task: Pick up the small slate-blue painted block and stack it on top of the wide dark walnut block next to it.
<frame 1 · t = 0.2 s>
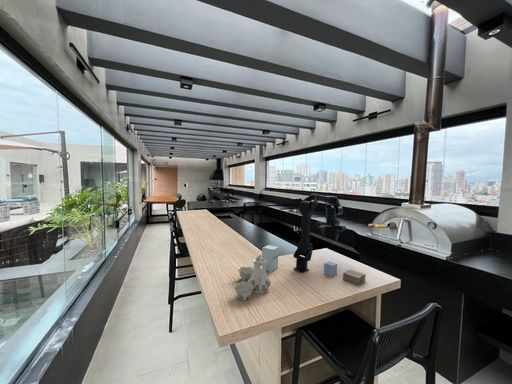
hand: (329, 238, 142), 14 cm above the bar counter, fingers open, 9 cm apart
grey lumpy piece: (252, 289, 101), on the bar counter
walnut block: (354, 280, 113), on the bar counter
slate block: (330, 273, 121), on the bar counter
supplement box: (269, 268, 125), on the bar counter
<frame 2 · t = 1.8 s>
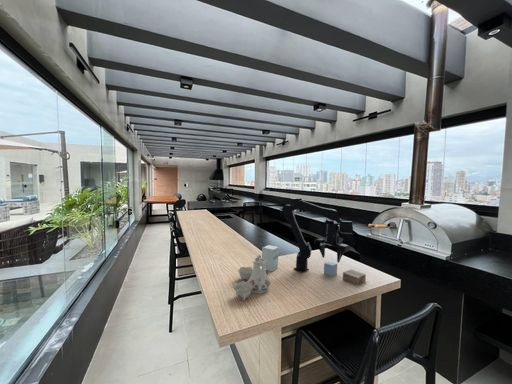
hand: (330, 259, 120), 8 cm above the bar counter, fingers open, 9 cm apart
nothing on the bar counter moved.
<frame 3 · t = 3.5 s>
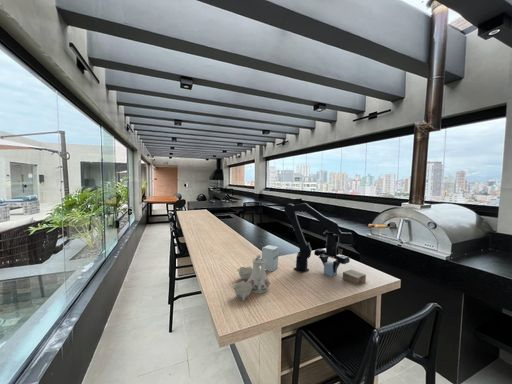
hand: (330, 271, 121), 2 cm above the bar counter, fingers closed on slate block, 5 cm apart
slate block: (330, 273, 121), on the bar counter, touching gripper
everything else where it was.
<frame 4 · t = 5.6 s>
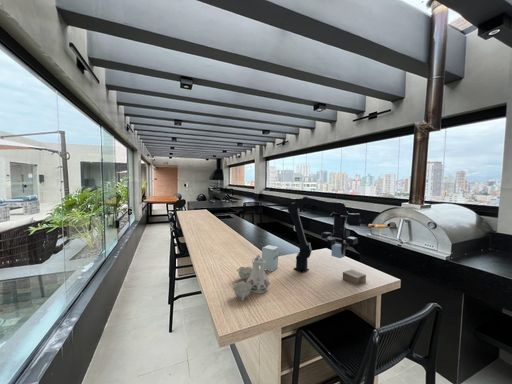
hand: (338, 253, 118), 12 cm above the bar counter, fingers closed on slate block, 5 cm apart
slate block: (338, 256, 118), point 11 cm above the bar counter, touching gripper
everything else where it was.
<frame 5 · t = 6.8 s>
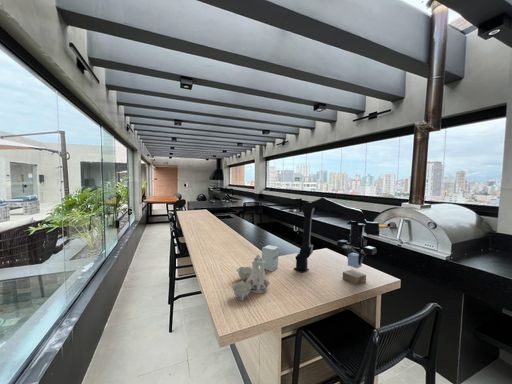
hand: (354, 263, 113), 9 cm above the bar counter, fingers closed on slate block, 5 cm apart
slate block: (354, 265, 113), point 8 cm above the bar counter, touching gripper
everything else where it was.
when the fingers open (7 cm above the bar counter, at t = 7.9 s): slate block drops 2 cm, resting on walnut block.
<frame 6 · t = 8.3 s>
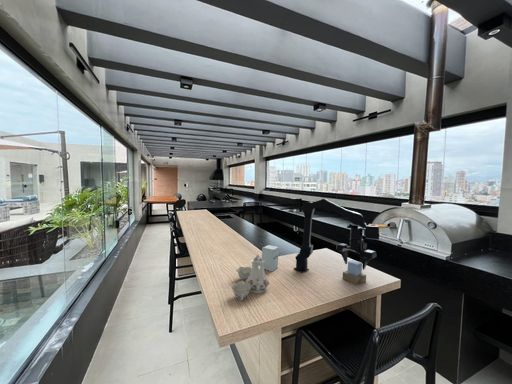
hand: (354, 266, 113), 7 cm above the bar counter, fingers open, 9 cm apart
walnut block: (354, 280, 113), on the bar counter, touching slate block
slate block: (354, 273, 113), point 4 cm above the bar counter, touching walnut block
everything else where it was.
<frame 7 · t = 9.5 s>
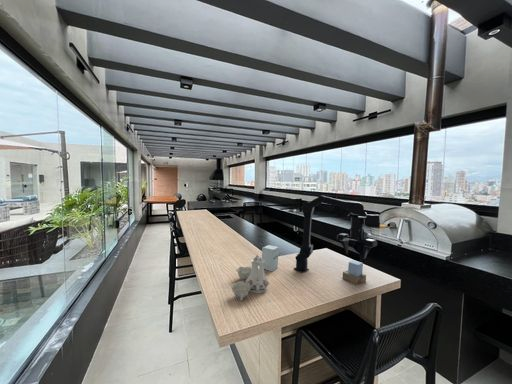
hand: (355, 256, 113), 13 cm above the bar counter, fingers open, 9 cm apart
nothing on the bar counter moved.
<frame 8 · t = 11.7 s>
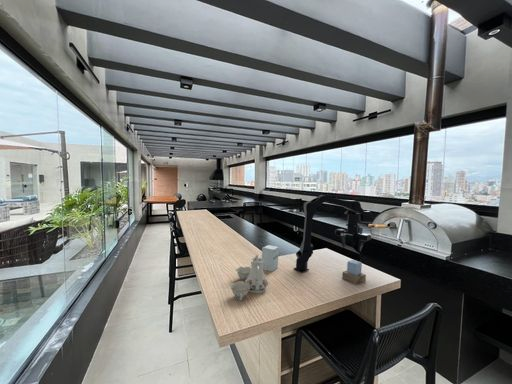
hand: (351, 249, 125), 13 cm above the bar counter, fingers open, 9 cm apart
at the end: slate block 0.0 cm off-centre on the walnut block, point 4.0 cm above the walnut block's base; slate block tilted 0°; the gripper is holding nothing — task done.
